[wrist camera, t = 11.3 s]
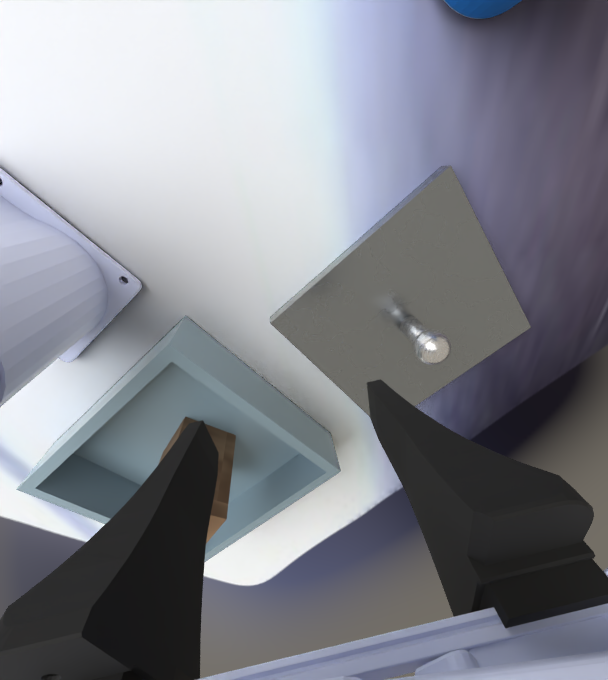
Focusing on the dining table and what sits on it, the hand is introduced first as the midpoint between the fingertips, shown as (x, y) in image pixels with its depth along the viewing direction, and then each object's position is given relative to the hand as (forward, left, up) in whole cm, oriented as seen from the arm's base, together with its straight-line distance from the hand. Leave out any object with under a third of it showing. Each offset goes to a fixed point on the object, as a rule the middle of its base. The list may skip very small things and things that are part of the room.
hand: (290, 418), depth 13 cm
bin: (+3, -12, -9) cm, 16 cm away
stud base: (+6, +7, -9) cm, 13 cm away
